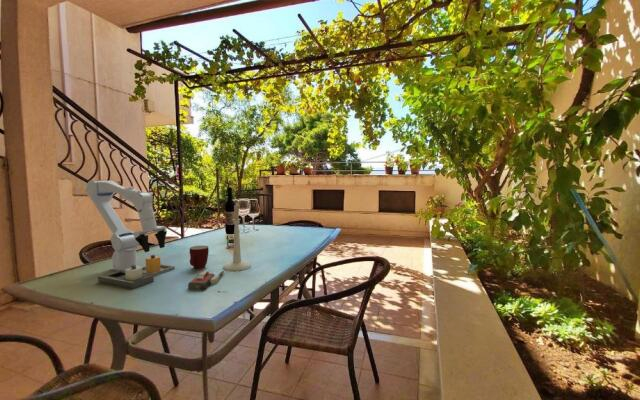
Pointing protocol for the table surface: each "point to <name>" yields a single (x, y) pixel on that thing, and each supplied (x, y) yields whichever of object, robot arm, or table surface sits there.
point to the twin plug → (133, 273)
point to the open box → (124, 280)
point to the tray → (163, 269)
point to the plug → (153, 264)
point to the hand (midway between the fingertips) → (155, 249)
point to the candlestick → (236, 248)
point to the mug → (198, 256)
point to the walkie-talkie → (203, 281)
